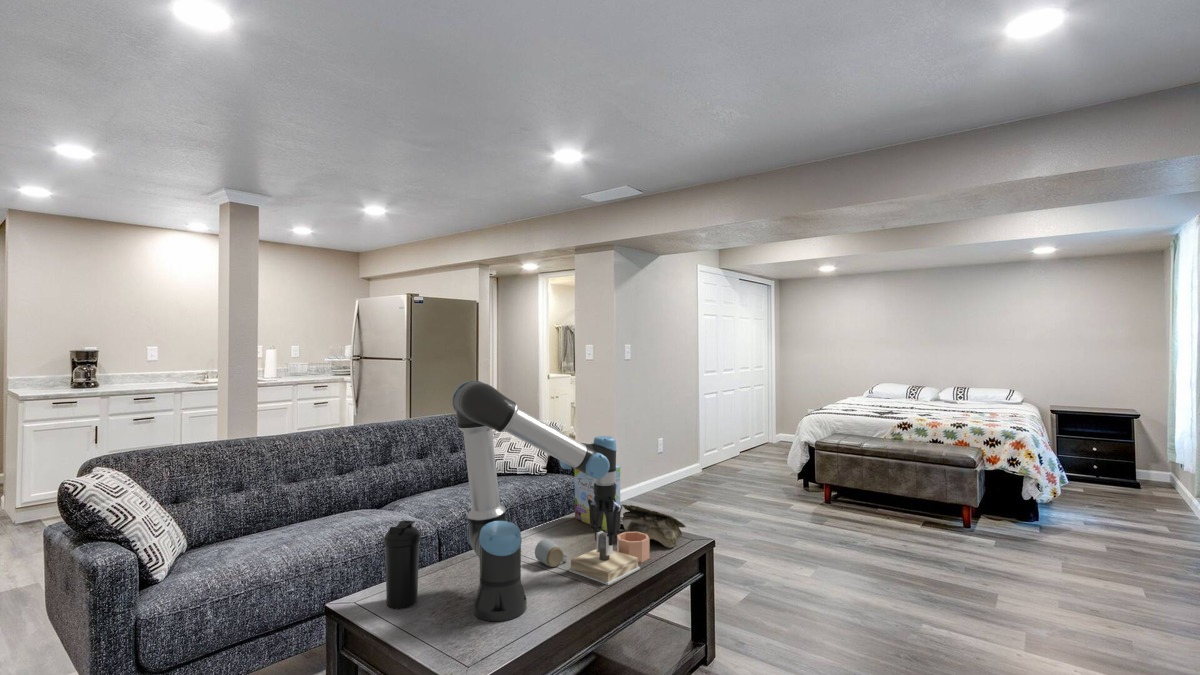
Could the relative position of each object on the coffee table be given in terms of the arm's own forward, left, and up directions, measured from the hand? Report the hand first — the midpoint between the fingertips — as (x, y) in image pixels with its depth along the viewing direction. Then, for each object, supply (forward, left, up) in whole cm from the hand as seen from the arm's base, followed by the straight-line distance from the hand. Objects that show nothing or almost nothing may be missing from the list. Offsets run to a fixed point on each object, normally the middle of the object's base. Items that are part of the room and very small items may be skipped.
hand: (604, 552), depth 192 cm
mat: (0, 0, -6) cm, 6 cm away
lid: (0, 0, -5) cm, 5 cm away
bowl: (+16, 0, -6) cm, 17 cm away
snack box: (+36, +34, -6) cm, 50 cm away
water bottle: (-57, +30, -6) cm, 65 cm away
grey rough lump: (+36, +6, -6) cm, 37 cm away
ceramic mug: (-7, +18, -6) cm, 20 cm away
